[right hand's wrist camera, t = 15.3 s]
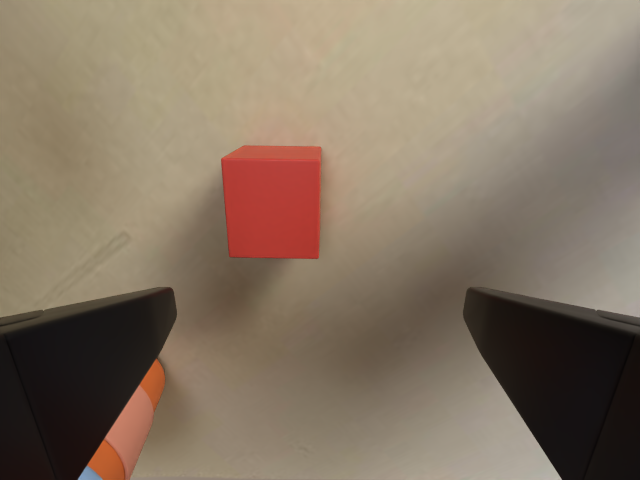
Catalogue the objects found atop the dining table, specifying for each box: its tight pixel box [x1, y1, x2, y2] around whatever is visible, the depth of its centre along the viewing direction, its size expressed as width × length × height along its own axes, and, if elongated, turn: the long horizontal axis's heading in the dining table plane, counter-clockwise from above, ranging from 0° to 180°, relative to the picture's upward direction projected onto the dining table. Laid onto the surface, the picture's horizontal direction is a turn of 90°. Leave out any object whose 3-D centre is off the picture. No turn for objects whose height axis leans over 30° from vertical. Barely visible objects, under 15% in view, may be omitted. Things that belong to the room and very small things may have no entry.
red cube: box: [221, 146, 321, 259], centre depth 20 cm, size 5×5×5 cm
